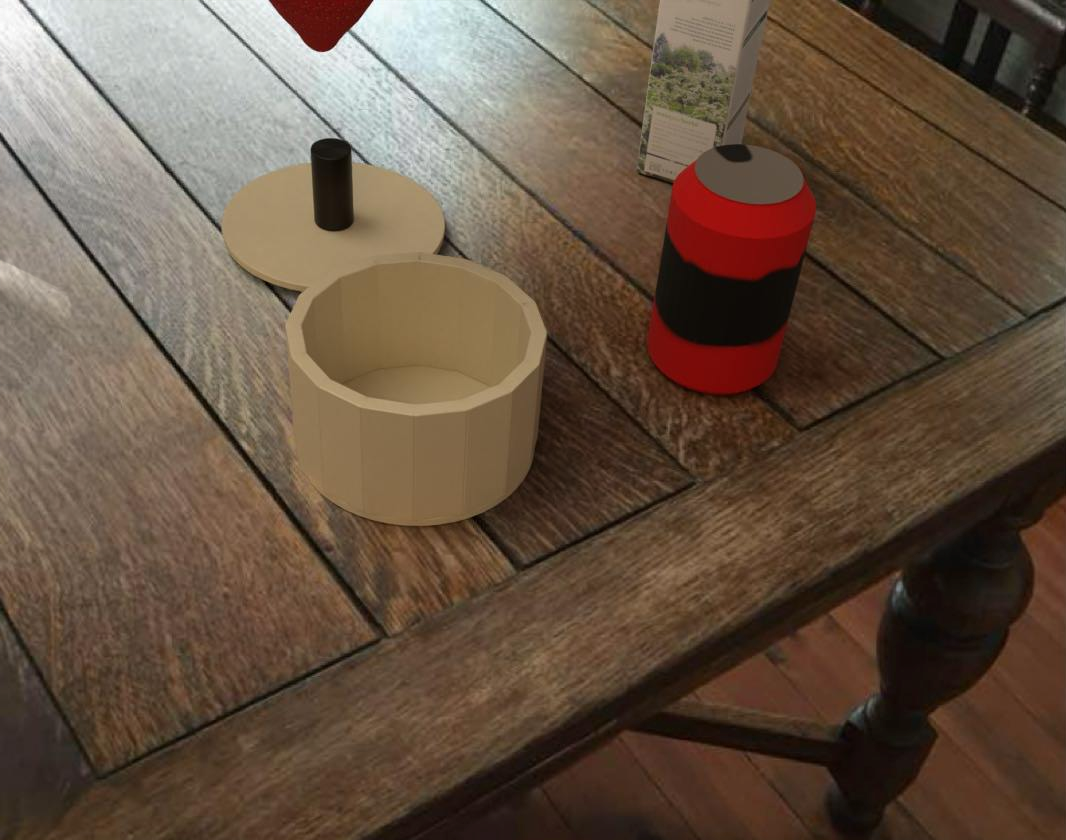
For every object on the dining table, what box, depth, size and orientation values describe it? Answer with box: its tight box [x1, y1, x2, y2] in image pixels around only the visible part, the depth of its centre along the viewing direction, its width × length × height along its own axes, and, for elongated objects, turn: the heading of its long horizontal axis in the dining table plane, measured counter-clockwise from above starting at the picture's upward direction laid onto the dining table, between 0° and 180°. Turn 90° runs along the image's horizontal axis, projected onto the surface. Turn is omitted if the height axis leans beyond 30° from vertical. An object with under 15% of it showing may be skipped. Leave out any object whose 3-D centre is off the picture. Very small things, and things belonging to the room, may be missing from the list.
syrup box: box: [636, 0, 771, 184], centre depth 87 cm, size 6×6×14 cm
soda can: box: [646, 143, 817, 396], centre depth 74 cm, size 8×8×12 cm
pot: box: [284, 252, 548, 527], centre depth 69 cm, size 13×13×8 cm
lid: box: [220, 137, 446, 293], centre depth 82 cm, size 14×14×6 cm
